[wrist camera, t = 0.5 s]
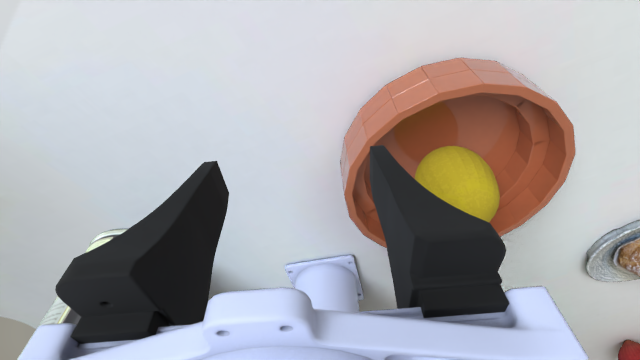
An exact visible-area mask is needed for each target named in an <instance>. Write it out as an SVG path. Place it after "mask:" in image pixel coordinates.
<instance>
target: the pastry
mask: <svg viewBox="0 0 640 360" xmlns="http://www.w3.org/2000/svg"><path fill="white" fill-rule="evenodd" d="M587 255H588V259H587V262H588V263H587V266H586V270H587V272H588V274H589V275H590V276H591V277H592V278H593V279H596V280H599V281H604V282H622V281H631V280H637V279H640V220H638V221H635V222H632V223H630V224H628V225H626V226H624V227H622V228H619V229H616V230H613V231H611V232H609V233H607V234H606V235H604V236H603V237H602V238H601V239H600V240H598V241H597V242H596V243H595V244H594V245H593V246H592V248H591V249H589V250H588V252H587Z"/></svg>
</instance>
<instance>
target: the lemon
mask: <svg viewBox="0 0 640 360" xmlns="http://www.w3.org/2000/svg"><path fill="white" fill-rule="evenodd" d="M415 180H416V181H417V182H419V183H420V184H421V185H422V186H423V187H425V188H426V189H427V190H429V191H430V192H431V193H433V194H434V195H436V196H437V197H439V198H440V199H442V200H444V201H445V202H447V203H449V204H450V205H452V206H454V207H456V208H458V209H460V210H462V211H464V212H466V213H468V214H470V215H472V216H475V217H477V218H480V219H482V220H485V221H487V222H490V221H491V219H492V218H493V217H494V216H495V214H496V212H497V209H498V207H499V200H500V193H499V187H498V184H497V181H496V178H495V176H494V173H493V171H492V170H491V168H490V167H489V165H488V164H487V163H486V162H485V161H484V160H483V159H482V158H481V157H480V156H479V155H478V154H477V153H475V152H473V151H471V150H469V149H467V148H464V147H459V146H445V147H440V148H438V149H435V150H433V151H432V152H430V153H429V154H427V155H426V156H425V157H424V158H423V159H422V161H421V162H420V164H419V165H418V167H417V170H416V173H415Z"/></svg>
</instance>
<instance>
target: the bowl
mask: <svg viewBox="0 0 640 360" xmlns="http://www.w3.org/2000/svg"><path fill="white" fill-rule="evenodd" d="M378 145H384V146H385V147H386V149H387V150H388V151H389V152H390V154H391V155H392V156H393V157H394V158H395V159H396V161H397V162H398V163H399V164H400V165H401V166H402V167H403V168H404V169H405V170H406V171H407V172H408V173H409V174H410V175H411V176H412V177H413V178H414V179H415V173H416V170H417V167H418V165H419V164H420V162H421V161H422V159H423V158H424V157H425V156H426V155H427V154H429V153H430V152H432V151H433V150H435V149H438V148H440V147H445V146H459V147H464V148H467V149H469V150H471V151H473V152H475V153H477V154H478V155H479V156H480V157H481V158H482V159H483V160H484V161H485V162H486V163H487V164H488V165H489V167H490V168H491V170H492V171H493V173H494V176H495V178H496V181H497V184H498V187H499V193H500V200H499V207H498V209H497V212H496V214H495V216H494V217H493V218H492V219H491V221H490V222H489V223H490V224H491V225H492V227H493V228H494V229H495V230H496V232H497V233H498V235H499V236H502V235H504V234H506V233H508V232H510V231H512V230H513V229H515V228H517V227H519V226H521V225H522V224H524V223H525V222H526V221H527V220H529V219H530V218H531V217H532V216H533V215H535V214H536V213H537V212H538V211H540V210H541V209H542V208H543V207H545V206H546V205H547V204H548V202H549V201H550V200H551V199H552V197H553V196H554V195H555V193H556V192H557V191H558V190H559V188H560V187H561V186H562V184H563V183H564V182H565V180H566V178H567V175H568V172H569V170H570V167H571V164H572V161H573V159H574V156H575V141H574V129H573V124H572V123H571V122H570V120H569V119H568V117H567V116H566V114H565V113H564V112H563V110H562V109H561V107H560V106H559V105H558V103H557V102H556V101H555V100H554V99H552V98H551V97H550V96H549V95H547V94H546V93H545V92H544V91H542V90H541V89H540V88H539V87H537V86H536V85H535V84H534V83H533V82H531V81H530V80H529V79H528V78H526V77H525V76H524V75H523V74H521V73H519V72H517V71H515V70H513V69H511V68H509V67H507V66H505V65H503V64H501V63H499V62H497V61H491V60H479V59H468V58H456V59H451V60H447V61H442V62H438V63H433V64H429V65H424V66H421V67H419V68H417V69H415V70H413V71H411V72H409V73H407V74H406V75H404V76H402V77H400V78H398V79H396V80H394V81H392V82H391V83H389V84H387V85H385V86H384V87H383V88H382V89H381V90H380V91H379V92H378V93H377V94H376V95H375V96H373V97H372V98H371V99H370V100H369V101H368V102H367V103H366V104H365V105H364V106H363V107H362V108H361V109H360V111H359V112H358V114H357V116H356V118H355V119H354V121H353V123H352V125H351V126H350V128H349V130H348V132H347V133H346V135H345V137H344V143H343V148H342V154H341V160H340V165H341V173H342V181H343V188H344V196H345V200H346V204H347V208H348V213H349V217H350V218H351V220H352V221H353V222H354V223H355V225H356V226H357V227H358V228H359V230H360V231H361V232H362V233H363V235H365V236H366V237H368V238H370V239H371V240H373V241H375V242H376V243H378V244H380V245H381V246H383V247H385V248H387V245H386V241H385V237H384V234H383V230H382V227H381V224H380V221H379V217H378V214H377V211H376V207H375V204H374V201H373V197H372V191H371V185H370V146H378Z"/></svg>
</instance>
